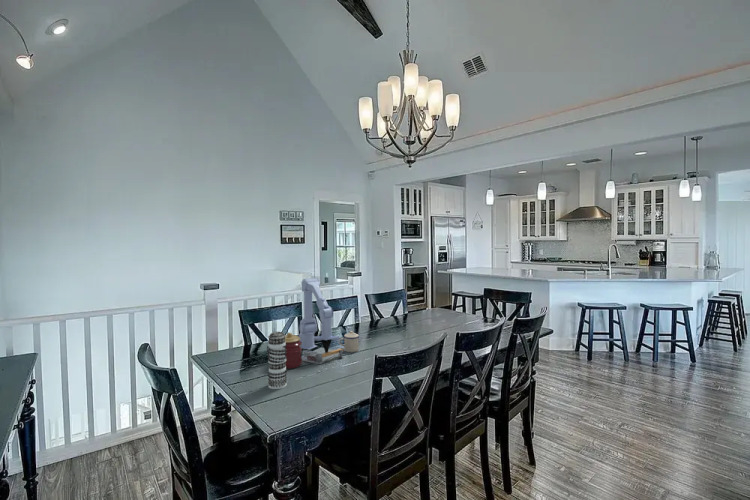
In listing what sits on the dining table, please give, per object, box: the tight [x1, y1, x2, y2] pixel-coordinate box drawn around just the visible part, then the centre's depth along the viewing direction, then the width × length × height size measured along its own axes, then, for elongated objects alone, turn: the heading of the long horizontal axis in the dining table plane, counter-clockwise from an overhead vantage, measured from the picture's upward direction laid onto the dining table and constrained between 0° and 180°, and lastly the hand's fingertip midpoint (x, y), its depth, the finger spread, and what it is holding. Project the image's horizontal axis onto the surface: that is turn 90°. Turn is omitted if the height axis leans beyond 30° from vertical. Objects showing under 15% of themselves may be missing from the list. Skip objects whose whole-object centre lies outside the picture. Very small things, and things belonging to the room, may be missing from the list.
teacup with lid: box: [338, 330, 360, 353], centre depth 232 cm, size 12×9×12 cm
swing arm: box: [316, 347, 346, 362], centre depth 214 cm, size 20×3×4 cm, turn 136°
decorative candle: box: [266, 331, 288, 390], centre depth 179 cm, size 9×9×25 cm
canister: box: [285, 332, 303, 369], centre depth 207 cm, size 13×13×18 cm
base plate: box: [302, 347, 344, 365], centre depth 219 cm, size 21×22×4 cm
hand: (326, 352), depth 217 cm, fingers closed
